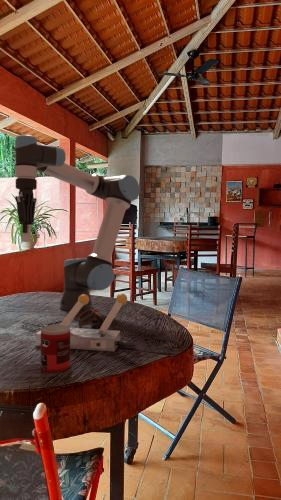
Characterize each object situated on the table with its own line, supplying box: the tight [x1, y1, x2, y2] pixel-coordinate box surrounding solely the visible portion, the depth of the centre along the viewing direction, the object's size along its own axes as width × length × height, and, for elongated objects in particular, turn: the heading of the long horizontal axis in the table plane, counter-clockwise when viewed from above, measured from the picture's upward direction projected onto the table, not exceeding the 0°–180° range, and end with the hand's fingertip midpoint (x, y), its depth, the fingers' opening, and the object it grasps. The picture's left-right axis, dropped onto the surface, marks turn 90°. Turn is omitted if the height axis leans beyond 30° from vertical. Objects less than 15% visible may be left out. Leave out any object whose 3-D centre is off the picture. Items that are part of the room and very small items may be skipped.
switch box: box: [35, 327, 137, 353], centre depth 123 cm, size 10×32×4 cm, turn 81°
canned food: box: [40, 324, 71, 373], centre depth 104 cm, size 8×8×11 cm
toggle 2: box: [98, 293, 128, 335], centre depth 122 cm, size 4×4×15 cm
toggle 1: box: [59, 294, 89, 327], centre depth 124 cm, size 4×4×15 cm
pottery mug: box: [77, 308, 105, 328], centre depth 144 cm, size 12×10×8 cm
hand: (26, 241), depth 142 cm, fingers closed
